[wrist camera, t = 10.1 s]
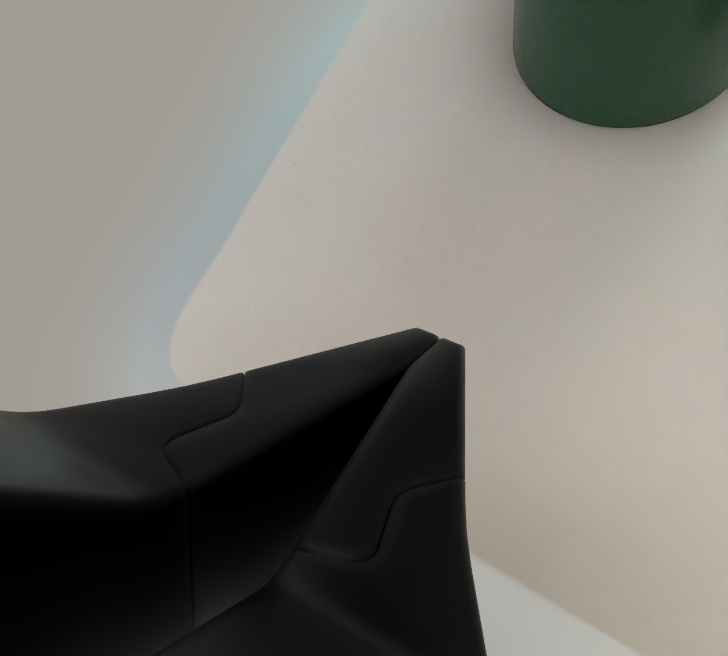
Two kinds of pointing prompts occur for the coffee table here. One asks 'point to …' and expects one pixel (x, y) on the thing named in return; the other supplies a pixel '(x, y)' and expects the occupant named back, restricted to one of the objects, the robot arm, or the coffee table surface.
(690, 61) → the green cylinder
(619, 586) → the coffee table surface
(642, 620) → the coffee table surface
